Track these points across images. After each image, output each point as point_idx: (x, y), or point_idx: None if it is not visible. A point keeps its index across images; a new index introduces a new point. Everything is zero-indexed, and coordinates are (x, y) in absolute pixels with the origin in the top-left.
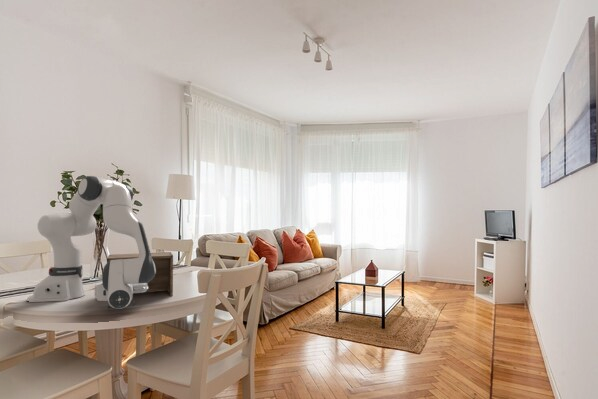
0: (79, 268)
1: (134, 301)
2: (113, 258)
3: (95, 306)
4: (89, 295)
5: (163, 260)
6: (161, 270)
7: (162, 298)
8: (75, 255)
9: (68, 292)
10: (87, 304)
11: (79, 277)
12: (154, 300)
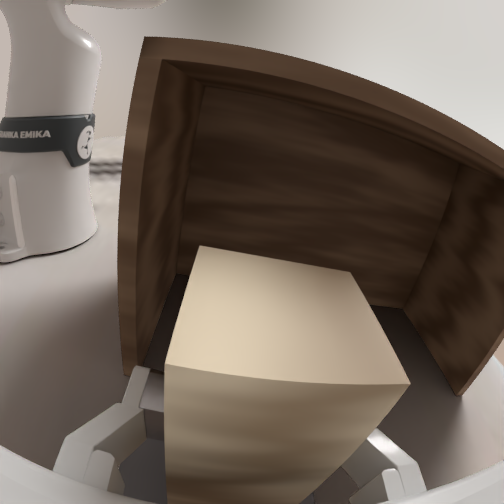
0: (68, 125)
1: (313, 495)
2: (205, 42)
3: (34, 448)
4: (103, 245)
5: (435, 182)
6: (414, 224)
7: (441, 429)
8: (59, 64)
9: (17, 228)
10: (22, 368)
11: (68, 165)
12: (418, 463)
